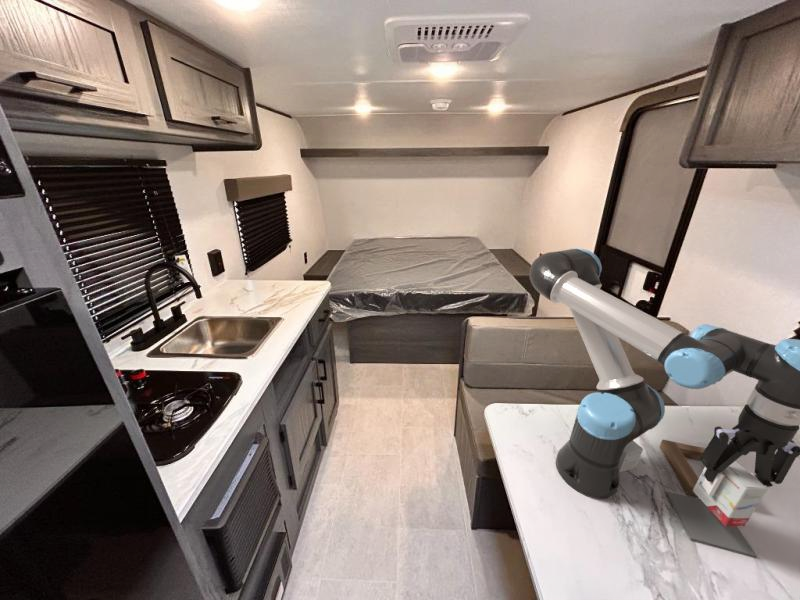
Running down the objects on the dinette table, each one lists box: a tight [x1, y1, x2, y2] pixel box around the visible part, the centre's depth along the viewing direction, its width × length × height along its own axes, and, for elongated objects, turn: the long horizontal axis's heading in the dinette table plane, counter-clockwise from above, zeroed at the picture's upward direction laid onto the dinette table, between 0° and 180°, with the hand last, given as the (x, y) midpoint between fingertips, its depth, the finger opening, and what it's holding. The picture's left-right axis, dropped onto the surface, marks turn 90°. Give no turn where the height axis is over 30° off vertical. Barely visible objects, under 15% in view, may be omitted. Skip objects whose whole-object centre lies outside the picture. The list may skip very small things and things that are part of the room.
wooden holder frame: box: [659, 439, 706, 498], centre depth 87 cm, size 14×16×3 cm
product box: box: [618, 440, 644, 473], centre depth 90 cm, size 6×6×7 cm
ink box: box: [693, 460, 769, 527], centre depth 71 cm, size 9×5×12 cm, turn 179°
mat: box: [665, 490, 758, 558], centre depth 76 cm, size 12×12×1 cm
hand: (724, 494), depth 72 cm, fingers closed on ink box, 6 cm apart
